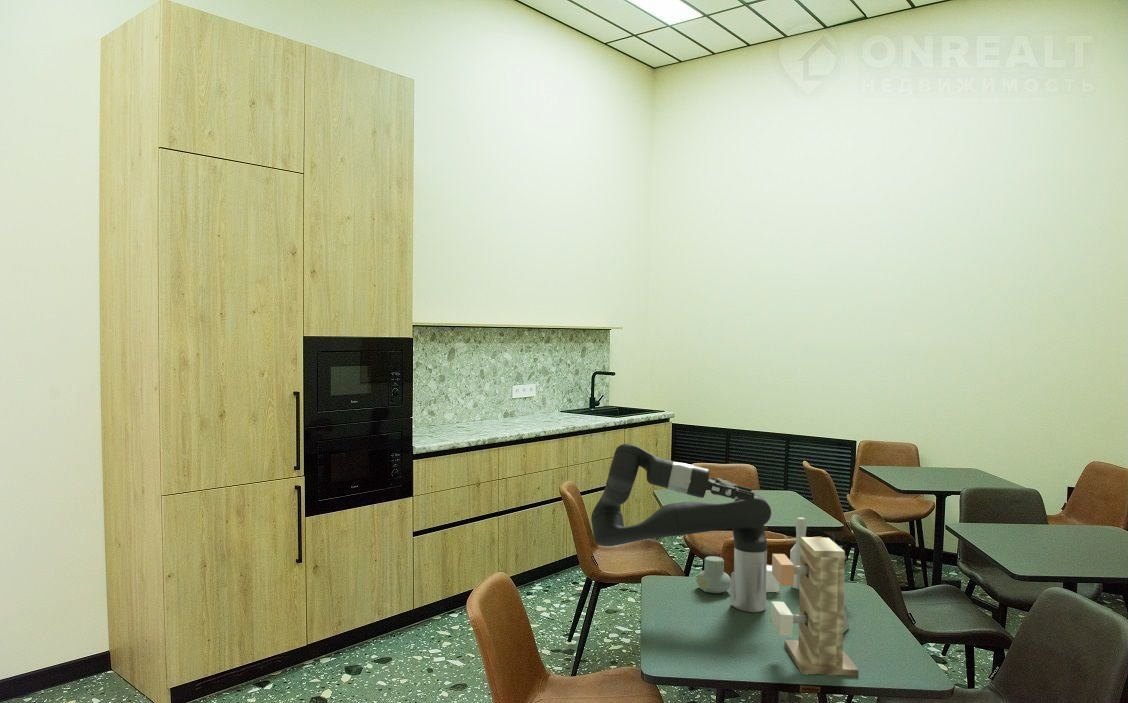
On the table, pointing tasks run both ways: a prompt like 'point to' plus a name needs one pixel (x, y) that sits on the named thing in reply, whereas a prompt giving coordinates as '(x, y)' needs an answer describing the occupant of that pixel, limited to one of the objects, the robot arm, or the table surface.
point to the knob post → (821, 611)
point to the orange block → (786, 569)
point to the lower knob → (785, 618)
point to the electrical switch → (845, 622)
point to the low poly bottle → (798, 548)
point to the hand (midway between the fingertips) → (752, 495)
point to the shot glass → (771, 581)
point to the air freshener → (713, 576)
